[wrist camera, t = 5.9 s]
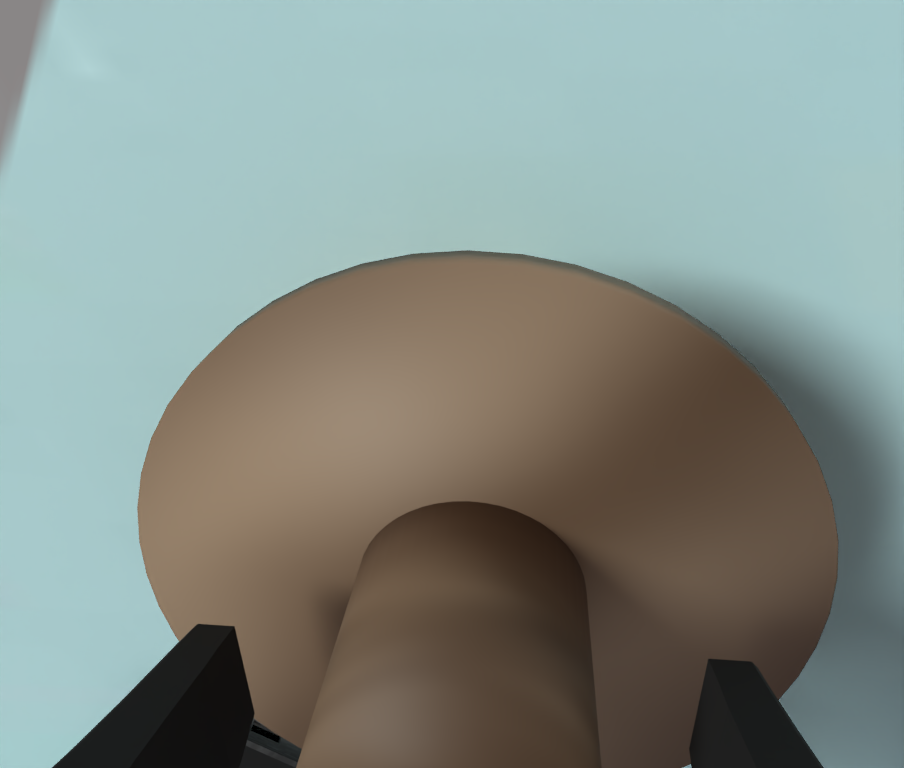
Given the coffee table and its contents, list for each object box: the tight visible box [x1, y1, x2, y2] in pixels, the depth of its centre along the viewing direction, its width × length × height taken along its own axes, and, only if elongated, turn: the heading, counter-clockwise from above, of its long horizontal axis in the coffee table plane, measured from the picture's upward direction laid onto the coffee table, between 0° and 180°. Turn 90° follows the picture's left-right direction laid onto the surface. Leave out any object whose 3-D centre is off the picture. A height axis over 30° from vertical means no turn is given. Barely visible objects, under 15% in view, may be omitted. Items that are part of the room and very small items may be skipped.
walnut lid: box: [138, 251, 838, 768], centre depth 11 cm, size 12×12×5 cm
